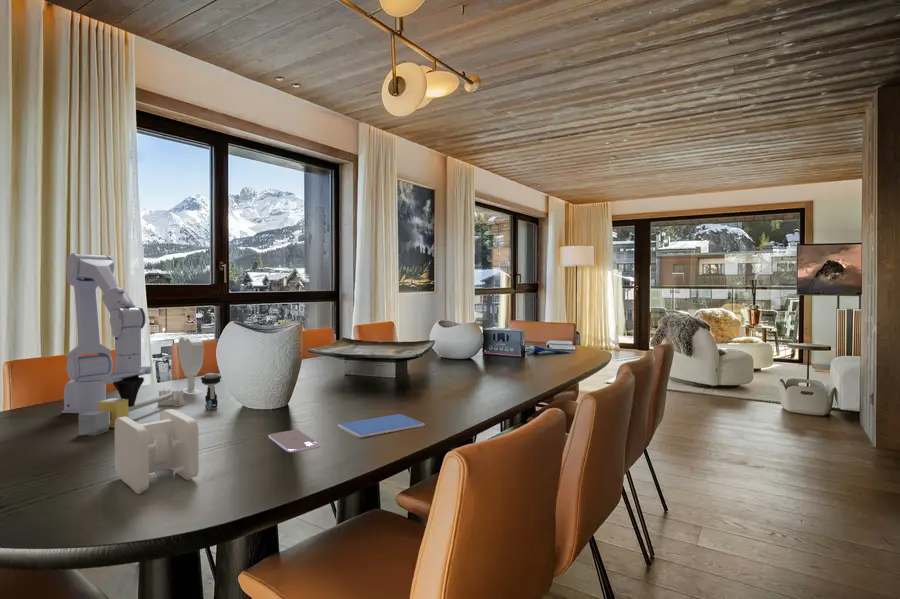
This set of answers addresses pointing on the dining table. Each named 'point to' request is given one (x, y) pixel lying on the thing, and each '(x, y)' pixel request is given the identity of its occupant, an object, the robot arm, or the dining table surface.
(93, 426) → the connector
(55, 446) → the dining table surface
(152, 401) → the rod
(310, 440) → the mobile phone
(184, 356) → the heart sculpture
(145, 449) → the cable organizer
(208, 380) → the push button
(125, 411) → the matte pale yellow cube
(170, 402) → the cable comb
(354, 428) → the tablet computer
